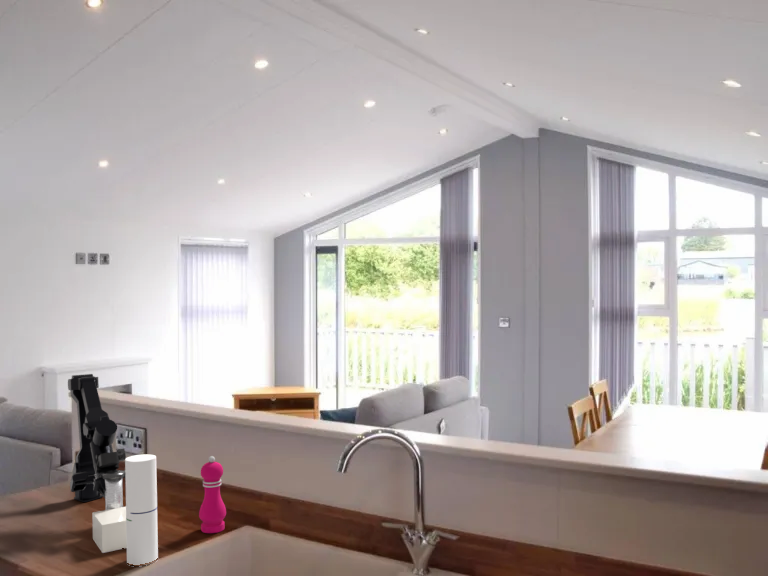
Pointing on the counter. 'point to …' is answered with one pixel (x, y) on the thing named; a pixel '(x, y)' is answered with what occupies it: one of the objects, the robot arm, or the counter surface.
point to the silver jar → (113, 489)
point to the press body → (110, 529)
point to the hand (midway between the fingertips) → (112, 504)
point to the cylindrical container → (141, 509)
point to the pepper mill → (212, 498)
